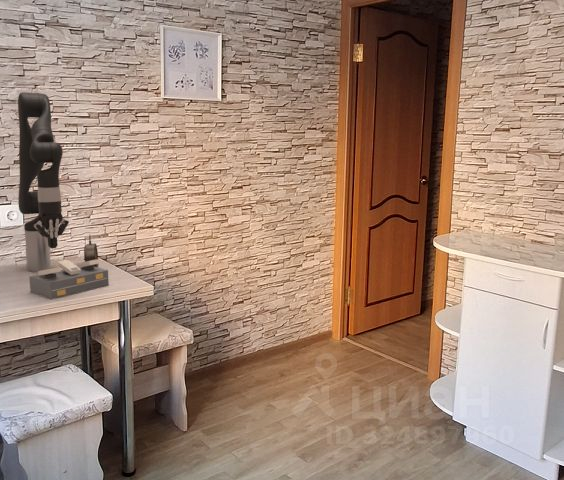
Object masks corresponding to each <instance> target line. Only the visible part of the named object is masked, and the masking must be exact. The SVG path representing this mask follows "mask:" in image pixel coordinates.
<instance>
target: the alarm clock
mask: <svg viewBox="0 0 564 480" xmlns="http://www.w3.org/2000/svg"><path fill="white" fill-rule="evenodd" d="M88 234H89V235H88V236H89V239H88V240H89V241H88V242H89V243H86V244H85V245H84V248H83V260H84V262H87V261H90V260H95V259H96V260H97V259H99V254H98V252H99V251H98V246H97V244H96V243H92V240H91V234H90V233H88ZM99 265H100V264H94V265H93V266H94V267H98V268H99Z"/></svg>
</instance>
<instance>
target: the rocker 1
mask: <svg viewBox="0 0 564 480" xmlns="http://www.w3.org/2000/svg"><path fill="white" fill-rule="evenodd" d="M61 270H62V268H60V267H59V266H56V267H51V268H50V269H47V270H42V271H38V272H37V275H38V276H39V275H45V274H50V273H55V272H60V271H61Z"/></svg>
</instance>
